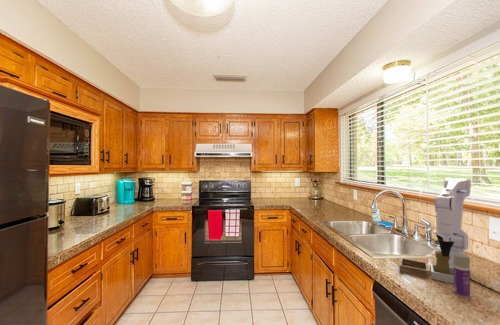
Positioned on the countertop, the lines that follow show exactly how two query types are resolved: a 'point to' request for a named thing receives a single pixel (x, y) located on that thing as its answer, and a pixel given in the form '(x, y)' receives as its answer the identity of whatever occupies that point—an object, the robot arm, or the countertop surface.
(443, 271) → the olive rounded piece
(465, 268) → the container
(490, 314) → the countertop surface
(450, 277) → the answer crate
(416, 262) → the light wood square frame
